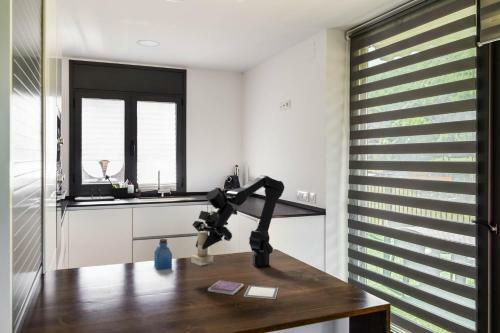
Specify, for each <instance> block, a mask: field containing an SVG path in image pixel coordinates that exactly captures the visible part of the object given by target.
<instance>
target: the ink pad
mask: <svg viewBox="0 0 500 333" xmlns="http://www.w3.org/2000/svg"><path fill="white" fill-rule="evenodd" d="M244 285H245V284H244V283H241V282H235V281H226V280H218V281H217V282H215V283H214V284H213V285H211V286H209V287H208V288H207V292H210V293H211V292H212V293H218V294H225V295H232V296H235V294H237V293H238V291H240V290H241V289H242V288H243V287H244Z"/></svg>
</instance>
